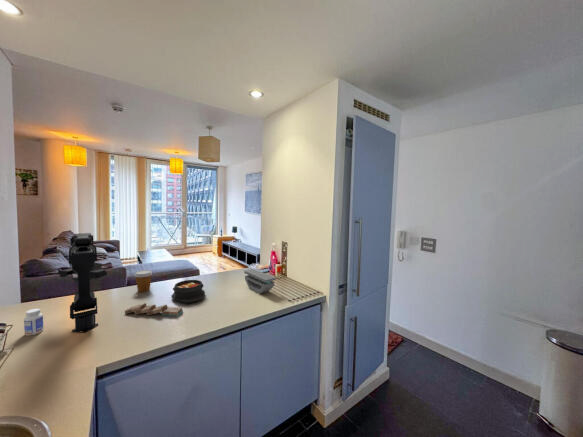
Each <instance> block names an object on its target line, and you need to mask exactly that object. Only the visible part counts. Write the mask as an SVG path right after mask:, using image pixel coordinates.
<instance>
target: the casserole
mask: <svg viewBox="0 0 583 437" xmlns="http://www.w3.org/2000/svg"><path fill="white" fill-rule="evenodd" d="M203 288H204V284H203V282H202V281H201V280H198V279H186V280H181V281H178V282H176V283H175V284H174V286H173V287H172V291H173V293H172V294H171V299H173V300H175V301H179V302H182V303H185V304H186V303H193V302H197V301H200V300H203V299H204V297H205V294H206V292H205V290H204V289H203Z"/></svg>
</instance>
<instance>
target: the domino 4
mask: <svg viewBox="0 0 583 437" xmlns="http://www.w3.org/2000/svg"><path fill="white" fill-rule="evenodd" d="M167 307H168V308H166V309H165V310H163V311H162V312H161V315H162V314H165V315H178V314H179V313H180V312H181V311H182V310H183V307H180V306H179V307H176V306H167Z"/></svg>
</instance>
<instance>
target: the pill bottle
mask: <svg viewBox="0 0 583 437" xmlns="http://www.w3.org/2000/svg"><path fill="white" fill-rule="evenodd" d="M25 314H26V316H25V317H24V318H23V327H24V336H26V337H27V336H29V337H30V336H34V335H38V334H40V333H41V332H43V331H44V315H43V313H41V309H40V308H32V309H29V310H27V311H25Z"/></svg>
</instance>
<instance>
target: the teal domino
mask: <svg viewBox="0 0 583 437" xmlns="http://www.w3.org/2000/svg"><path fill="white" fill-rule="evenodd" d="M183 312H184V310H183V309H182V311H181V312H180V313H179V314H178V315H165V314H162V313H161V316H165V317H167V316H168V317H179V316H180V315H181V314H182V313H183Z"/></svg>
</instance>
